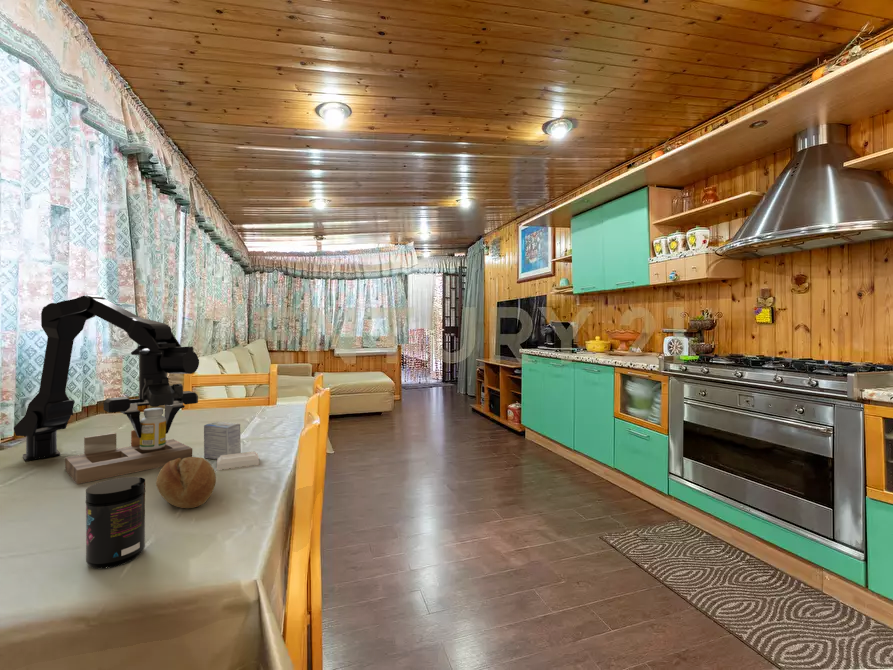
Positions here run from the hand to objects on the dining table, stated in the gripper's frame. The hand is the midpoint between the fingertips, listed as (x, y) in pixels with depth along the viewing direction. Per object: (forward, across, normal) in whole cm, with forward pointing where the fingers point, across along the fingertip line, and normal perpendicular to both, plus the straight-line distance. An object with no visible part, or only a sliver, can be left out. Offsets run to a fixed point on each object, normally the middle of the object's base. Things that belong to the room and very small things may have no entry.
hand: (153, 435), depth 105 cm
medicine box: (+6, +12, -10) cm, 17 cm away
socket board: (+6, -4, 0) cm, 8 cm away
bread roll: (+6, -3, -34) cm, 34 cm away
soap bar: (+7, +12, -19) cm, 24 cm away
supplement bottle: (+3, 0, 0) cm, 3 cm away
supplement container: (+6, -18, -49) cm, 53 cm away
